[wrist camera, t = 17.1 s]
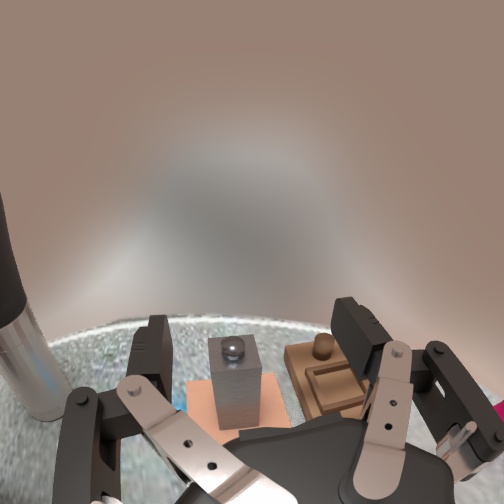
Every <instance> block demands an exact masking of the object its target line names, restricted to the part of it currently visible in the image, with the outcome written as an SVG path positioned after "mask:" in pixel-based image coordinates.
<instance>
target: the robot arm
mask: <svg viewBox="0 0 504 504" xmlns="http://www.w3.org/2000/svg"><path fill="white" fill-rule="evenodd" d="M331 332H332V335H333V337H334V338H335V340H336V342H337V343H338V345H339V347H340V349H341V350H342V352H343V354H344V356H345V357H346V359H347V361H348V362H349V364H350V366H351V368H352V369H353V371H354V373H355V375H356V376H357V378H358V380H359V381H363V380H366V379H368V380H369V382H370V383H369V385H368V388H367V391H366V395H365V399H364V402H363V406H362V409H361V412H360V415H359V418H358V419H355V418H346V417H342V415H341V413H340V411H338V412H334V413H330V414H326V415H322V416H318V417H315V418H313V419H311V420H309V421H307V422H305V423H303V424H300V425H298V426H296V427H293V428H281V427H260V428H253V429H245V430H238V431H239V437H238V438H235V439H232V440H230V441H228V442H227V443H225V444H223V445H221V444H219V443H218V442H217V441H216V440H215V439H214V438H212V437H211V436H210V435H209V434H208V433H207V432H206V431H205V430H203V429H202V428H201V427H200V426H199V425H198V424H197V423H196V422H195V421H194V420H193V419H191V418H190V417H189V416H188V415H187V414H186V413H185V412H184V411H182V410H176V409H175V408H174V407H173V406H172V405H171V402H172V363H173V345H172V338H171V334H170V329H169V324H168V319H167V315H150V318H149V323H148V327H140V328H139V329H138V330H137V331H136V333H135V334H134V337H133V342H132V347H131V352H130V357H129V362H128V367H127V373H126V377H125V378H123V379H122V380H121V381H120V382H119V383H118V385H117V388H115V389H113V390H110V391H106V392H102V393H96V392H95V391H94V390H93V389H92V388H89V387H79V388H76V389H74V390H73V391H72V388H71V386H70V385H69V383H68V381H67V379H66V378H65V376H64V374H63V373H62V371H61V369H60V367H59V365H58V363H57V361H56V360H55V358H54V356H53V354H52V352H51V350H50V348H49V346H48V344H47V342H46V340H45V338H44V336H43V334H42V332H41V330H40V327H39V325H38V323H37V321H36V318H35V316H34V314H33V312H32V310H31V308H30V304H29V302H28V299H27V297H26V294H25V292H24V289H23V286H22V283H21V279H20V276H19V272H18V269H17V265H16V262H15V258H14V255H13V251H12V247H11V243H10V239H9V234H8V229H7V223H6V217H5V212H4V206H3V202H2V197H1V193H0V373H1V375H2V376H3V378H4V379H5V381H6V382H7V383H8V385H9V386H10V388H11V389H12V391H13V392H14V393H15V395H16V396H17V397H18V399H19V400H20V401H21V403H22V404H23V405H24V406H25V408H26V409H27V410H28V411H29V413H30V414H31V415H32V416H33V417H34V418H36V419H38V420H40V421H53V420H56V419H58V418H60V417H61V416H63V420H62V425H61V431H60V437H59V443H58V450H57V457H56V465H55V473H54V484H53V497H52V504H123V503H122V502H121V485H120V447H121V439H122V438H126V437H130V436H134V435H137V434H141V436H142V437H143V438H144V439H145V441H146V442H147V443H148V444H149V445H150V447H151V448H152V449H153V450H154V451H155V452H156V453H157V455H158V456H159V457H160V458H161V459H162V460H163V461H164V463H165V464H166V465H167V466H168V467H169V469H170V470H171V471H172V472H173V473H174V474H175V475H176V477H177V478H178V479H179V480H180V481H181V482H182V483H183V484H184V485H185V486H186V487H187V489H186V490H185V491H184V493H183V494H182V495H181V496H180V498H179V499H178V500H177V501H176V503H175V504H455V499H454V484H455V483H457V482H459V481H462V482H463V481H467V480H469V479H471V478H472V477H473V476H474V475H476V474H477V473H478V472H480V471H481V470H482V469H483V468H485V467H486V466H487V465H488V464H490V463H491V462H492V461H493V460H494V459H495V458H497V457H498V456H499V455H500V454H501V453H502V452H503V451H504V422H503V421H502V419H501V418H500V416H499V415H498V413H497V412H496V410H495V409H494V407H493V406H492V404H491V403H490V401H489V400H488V398H487V397H486V396H485V394H484V393H483V391H482V390H481V389H480V387H479V386H478V385H477V383H476V382H475V380H474V379H473V378H472V376H471V375H470V374H469V372H468V371H467V370H466V369H465V367H464V366H463V365H462V363H461V362H460V361H459V359H458V358H457V357H456V356H455V354H454V353H453V352H452V351H451V349H450V348H449V347H448V346H447V345H446V344H444V343H443V342H440V341H431V342H429V343H428V344H427V346H426V348H425V350H411V348H410V347H409V346H408V345H407V344H405V343H403V342H400V341H394V340H393V339H392V338H391V337H390V335H389V334H388V333H387V331H386V330H385V329H384V328H383V326H382V325H381V324H380V323H379V321H378V320H377V319H376V318H375V316H374V315H373V314H372V312H371V311H370V310H369V309H367V308H366V307H364V306H362V305H358V304H357V302H356V301H355V300H354V299H353V297H344V298H337V299H336V301H335V305H334V310H333V315H332V320H331ZM436 381H438V382H439V384H440V385H441V387H442V388H443V390H444V392H445V398H444V397H443V395H442V394H441V392H440V391H439V389H438V387H437V386H436V384H435V383H436ZM412 400H413V401H414V403H415V405H416V407H417V408H418V410H419V412H420V414H421V416H422V417H423V419H424V421H425V423H426V425H427V426H428V428H429V430H430V432H431V434H432V436H433V438H434V439H435V441H436V443H437V446H436V454H437V455H433V454H431V453H429V452H426V451H424V450H422V449H420V448H418V447H416V446H413V445H411V444H409V443H407V442H405V441H406V436H407V430H408V424H409V417H410V411H411V403H412Z"/></svg>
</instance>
